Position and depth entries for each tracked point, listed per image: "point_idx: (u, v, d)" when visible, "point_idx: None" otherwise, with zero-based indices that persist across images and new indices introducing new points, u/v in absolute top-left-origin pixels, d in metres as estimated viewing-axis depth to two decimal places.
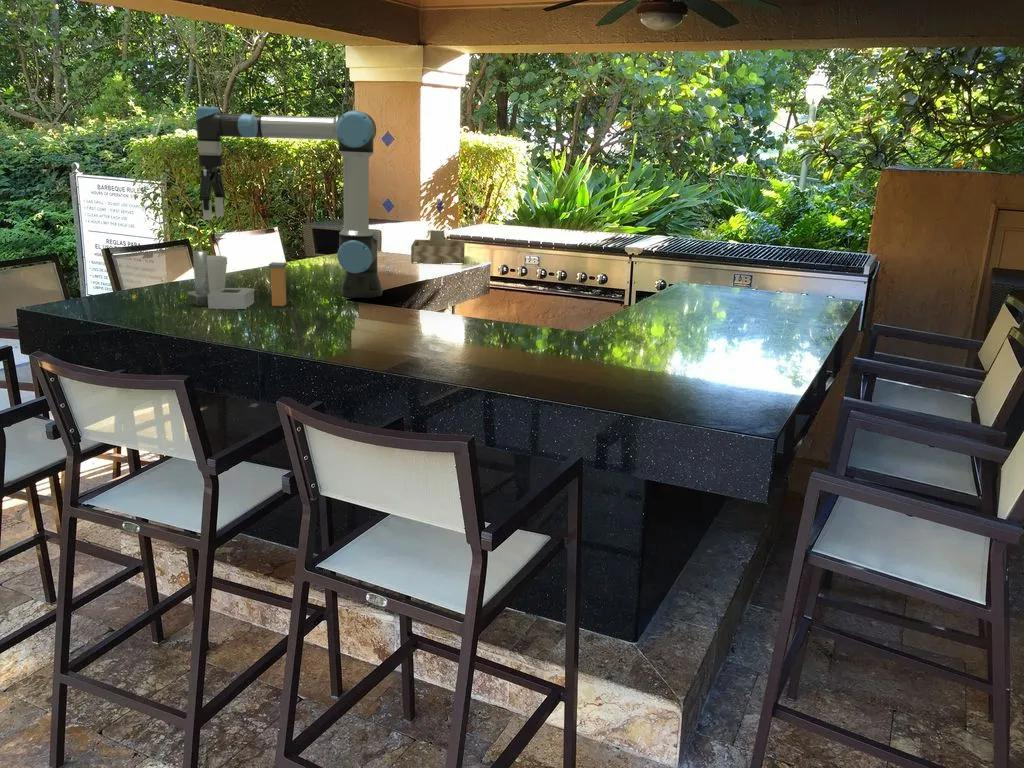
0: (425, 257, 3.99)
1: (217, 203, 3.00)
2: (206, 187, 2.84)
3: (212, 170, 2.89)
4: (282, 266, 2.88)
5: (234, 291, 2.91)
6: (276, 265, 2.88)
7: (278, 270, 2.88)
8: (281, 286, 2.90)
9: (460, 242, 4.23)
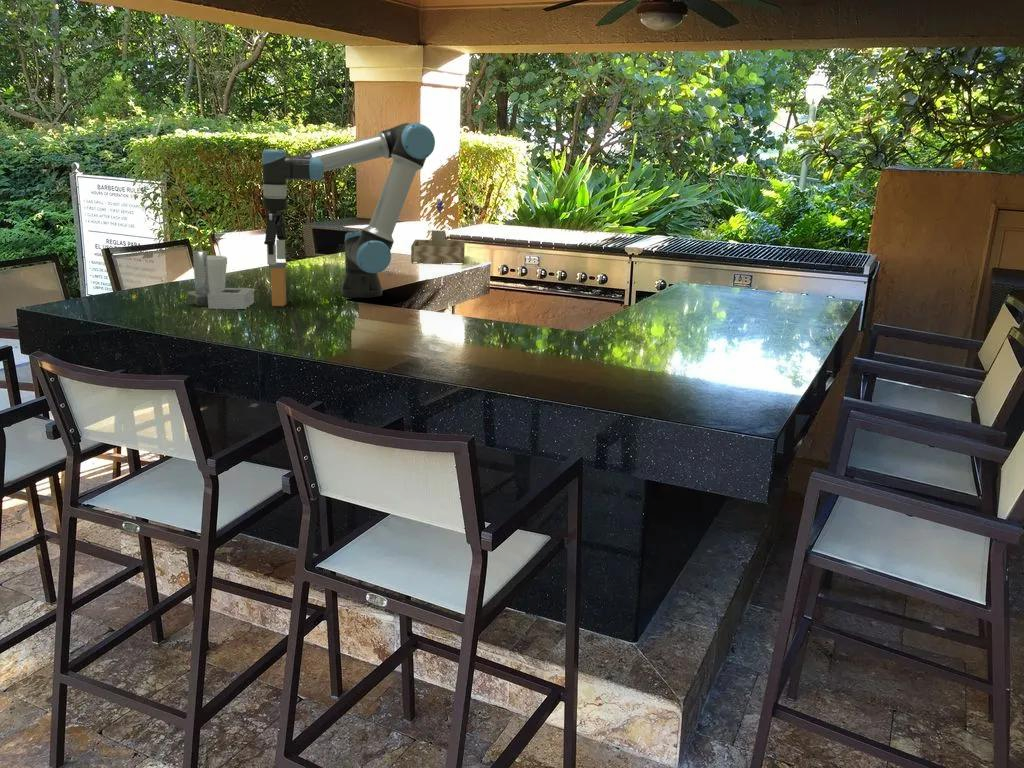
0: (425, 257, 3.99)
1: (279, 246, 2.94)
2: (272, 232, 2.78)
3: (277, 214, 2.83)
4: (282, 266, 2.88)
5: (234, 291, 2.91)
6: (276, 265, 2.88)
7: (278, 270, 2.88)
8: (281, 286, 2.90)
9: (460, 242, 4.23)
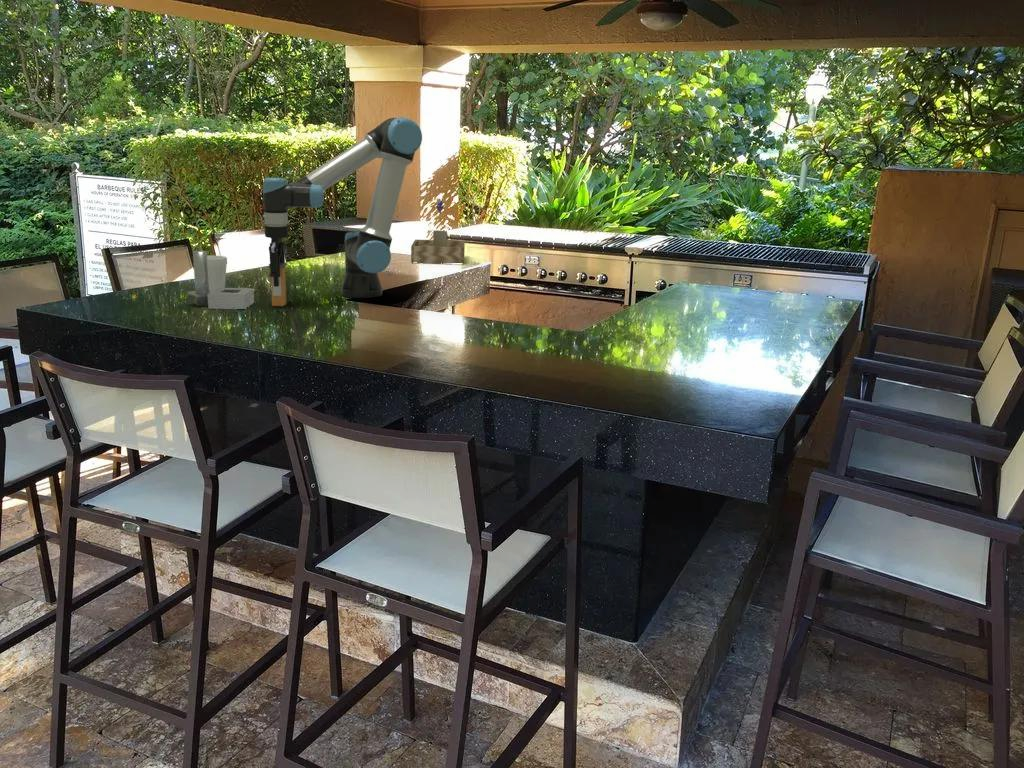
0: (425, 257, 3.99)
1: None
2: (276, 265, 2.84)
3: (278, 240, 2.85)
4: (282, 266, 2.88)
5: (234, 291, 2.91)
6: None
7: None
8: (281, 286, 2.90)
9: (460, 242, 4.23)
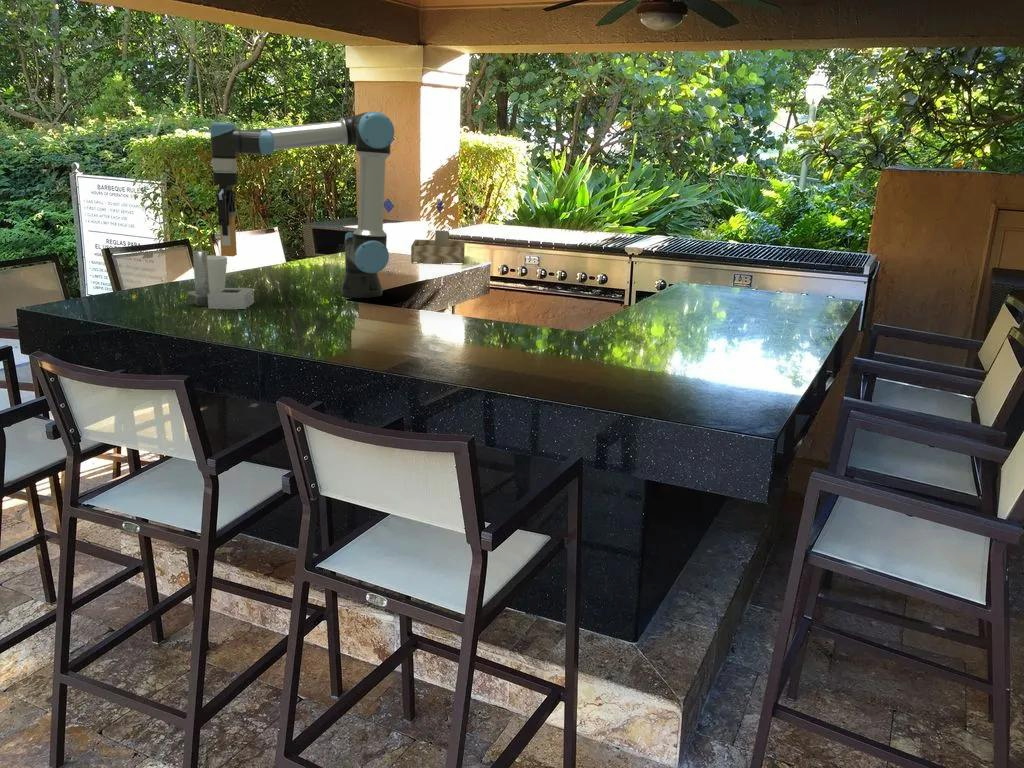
0: (425, 257, 3.99)
1: None
2: (224, 212, 2.75)
3: (226, 187, 2.76)
4: (231, 214, 2.79)
5: (234, 291, 2.91)
6: None
7: None
8: (230, 235, 2.81)
9: (460, 242, 4.23)
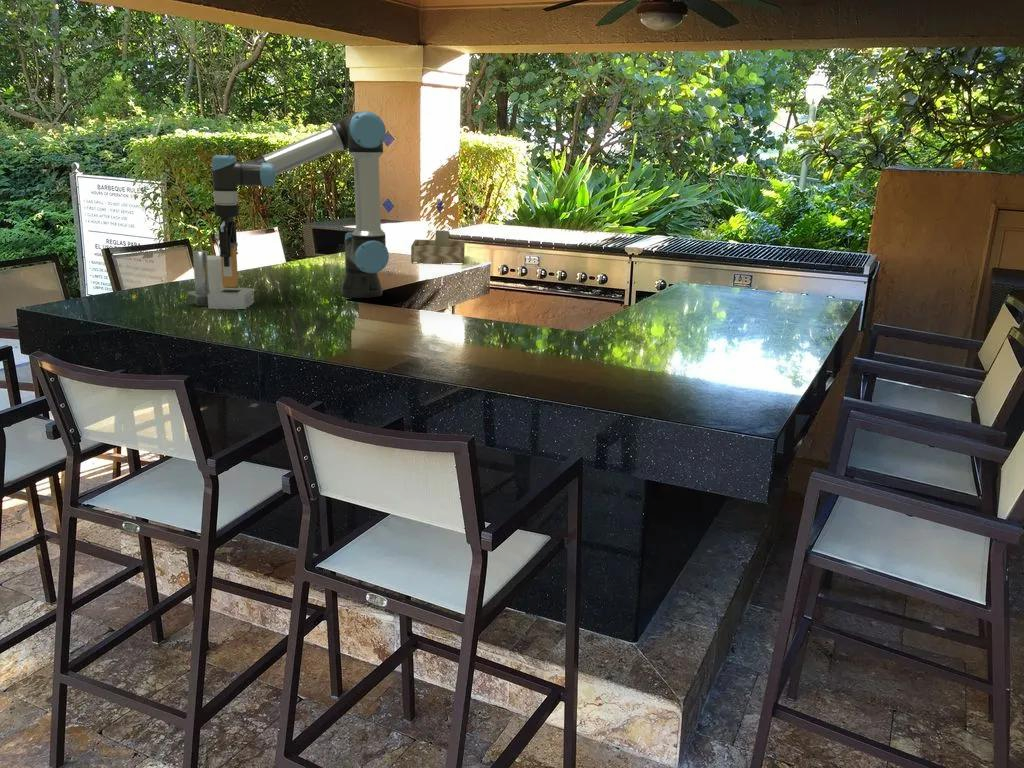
0: (425, 257, 3.99)
1: None
2: (225, 244, 2.78)
3: (228, 219, 2.79)
4: (232, 246, 2.81)
5: (234, 291, 2.91)
6: None
7: None
8: (232, 266, 2.83)
9: (460, 242, 4.23)
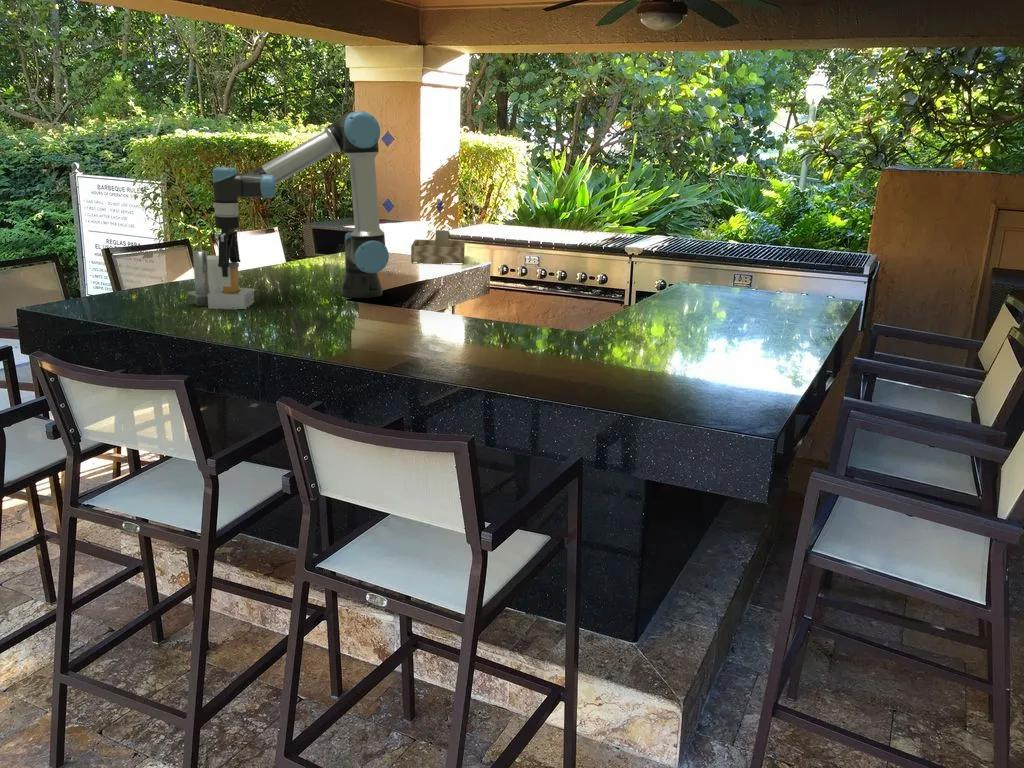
0: (425, 257, 3.99)
1: None
2: (224, 254, 2.77)
3: (229, 231, 2.80)
4: (234, 266, 2.83)
5: None
6: None
7: (230, 271, 2.84)
8: (233, 287, 2.85)
9: (460, 242, 4.23)
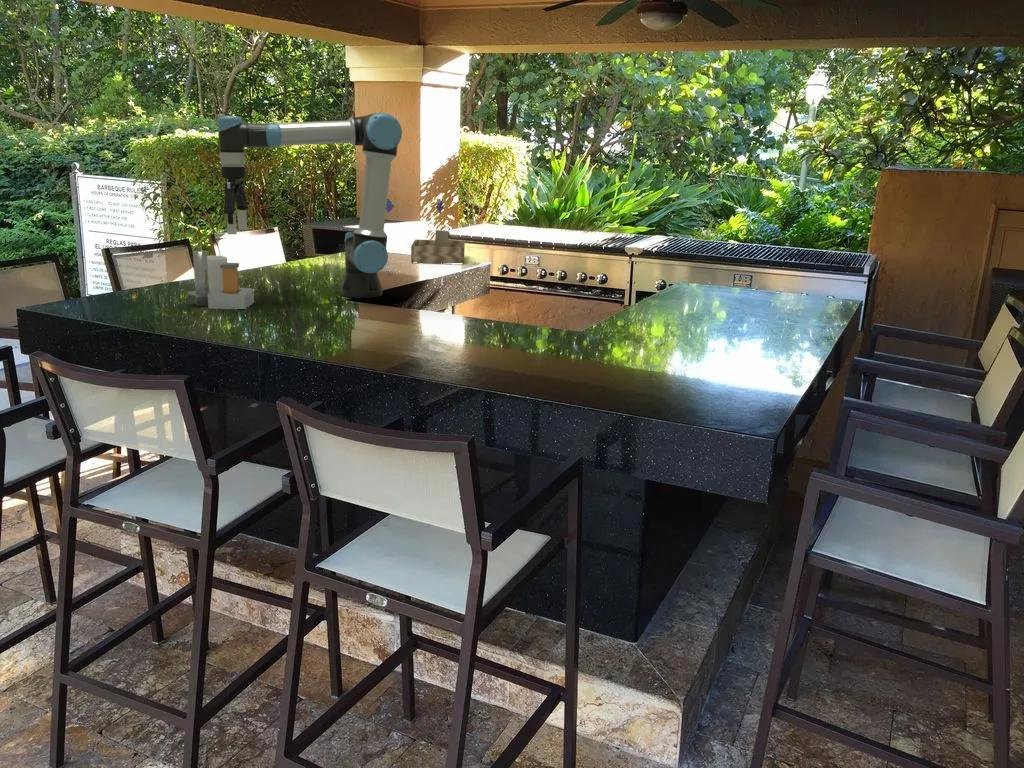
0: (425, 257, 3.99)
1: (240, 216, 2.89)
2: (230, 200, 2.73)
3: (235, 182, 2.78)
4: (234, 266, 2.83)
5: None
6: (228, 265, 2.83)
7: (230, 271, 2.84)
8: (233, 287, 2.85)
9: (460, 242, 4.23)
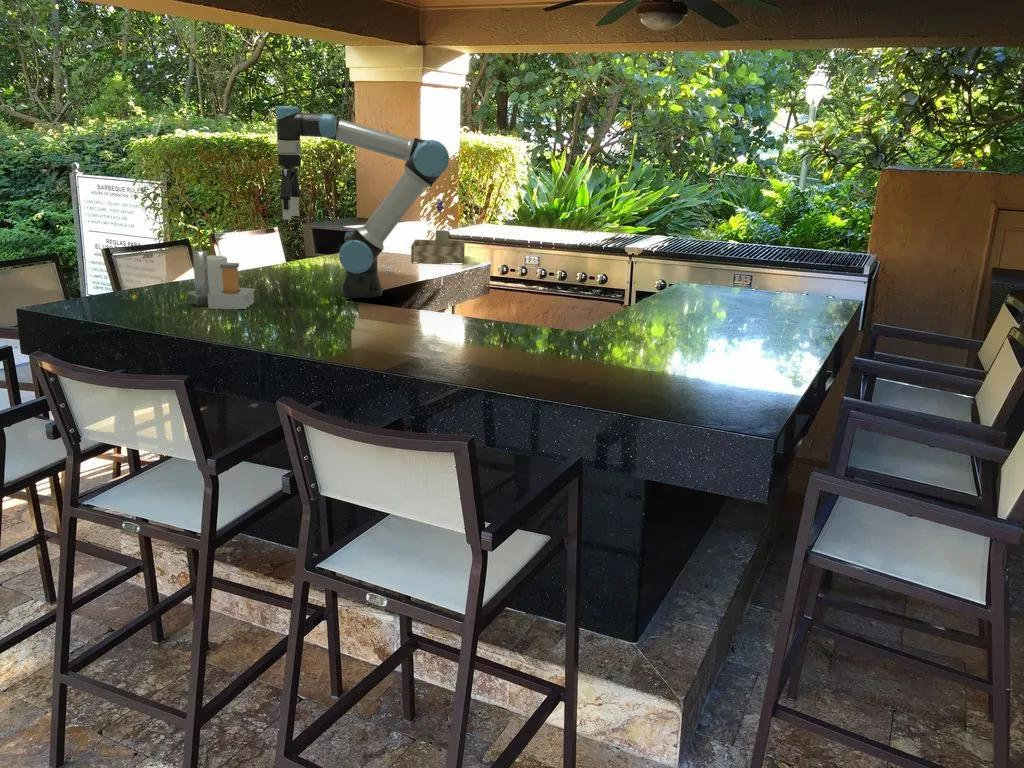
0: (425, 257, 3.99)
1: (293, 203, 3.00)
2: (287, 187, 2.84)
3: (291, 170, 2.89)
4: (234, 266, 2.83)
5: None
6: (228, 265, 2.83)
7: (230, 271, 2.84)
8: (233, 287, 2.85)
9: (460, 242, 4.23)
